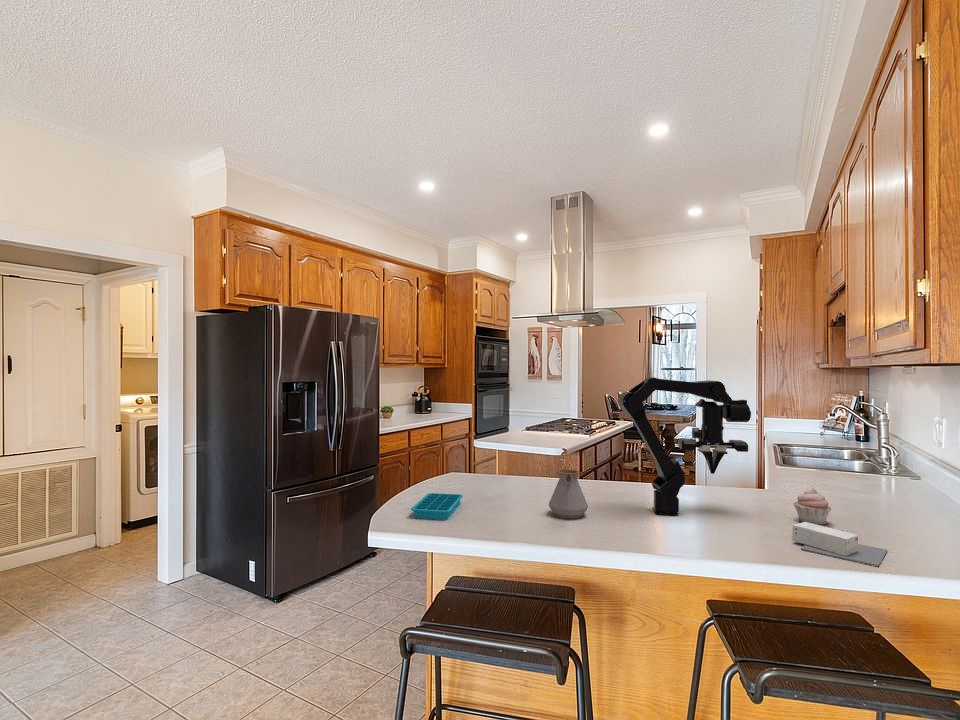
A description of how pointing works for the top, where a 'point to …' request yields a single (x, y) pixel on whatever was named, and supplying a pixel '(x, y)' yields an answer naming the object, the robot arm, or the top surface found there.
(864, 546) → the mat
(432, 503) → the ice cube tray
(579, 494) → the coffee pot
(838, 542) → the skincare box
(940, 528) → the top surface
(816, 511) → the cupcake
